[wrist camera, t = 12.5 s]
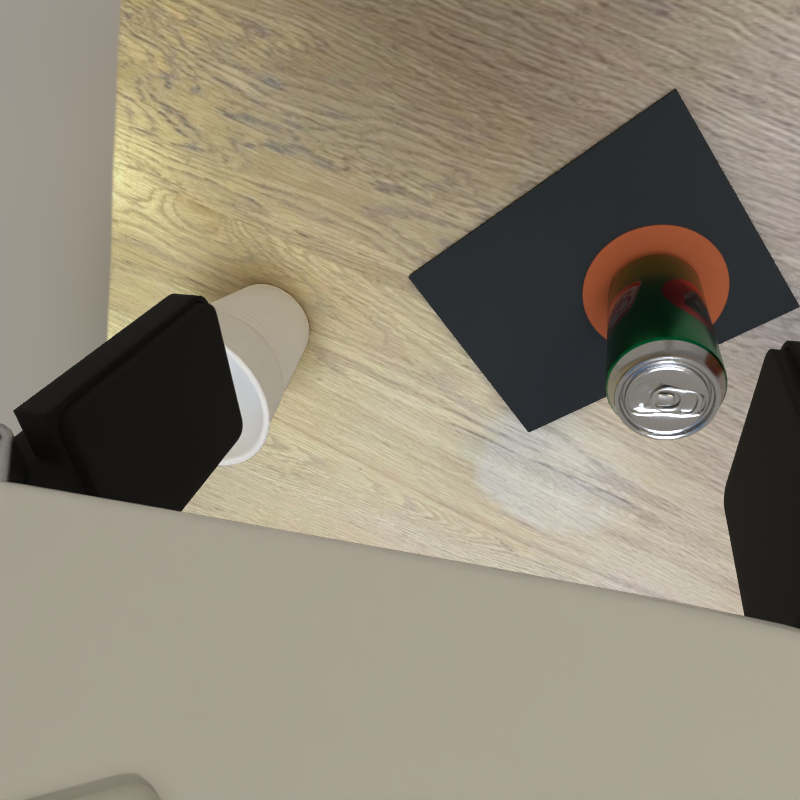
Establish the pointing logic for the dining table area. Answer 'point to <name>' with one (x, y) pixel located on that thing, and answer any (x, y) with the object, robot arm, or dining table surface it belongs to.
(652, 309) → the soda can
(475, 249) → the placemat
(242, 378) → the cup
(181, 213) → the dining table surface
